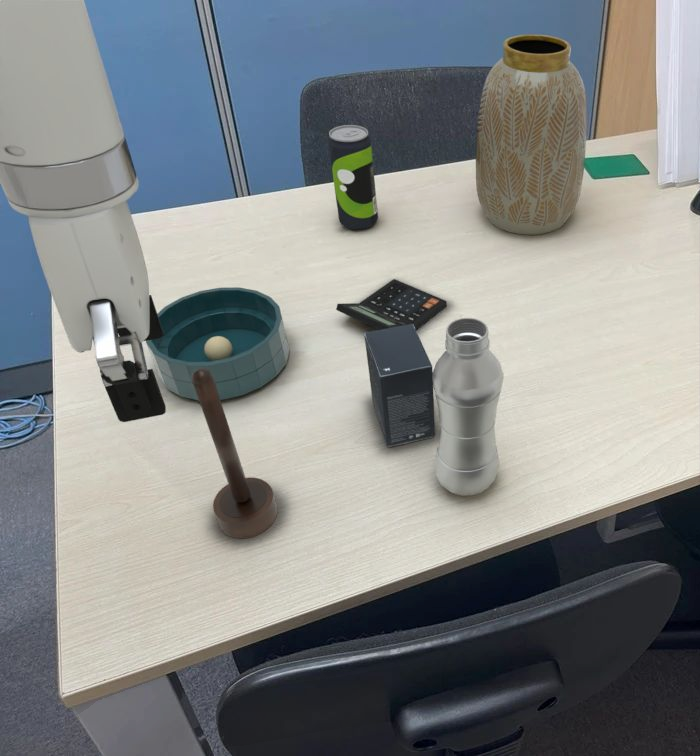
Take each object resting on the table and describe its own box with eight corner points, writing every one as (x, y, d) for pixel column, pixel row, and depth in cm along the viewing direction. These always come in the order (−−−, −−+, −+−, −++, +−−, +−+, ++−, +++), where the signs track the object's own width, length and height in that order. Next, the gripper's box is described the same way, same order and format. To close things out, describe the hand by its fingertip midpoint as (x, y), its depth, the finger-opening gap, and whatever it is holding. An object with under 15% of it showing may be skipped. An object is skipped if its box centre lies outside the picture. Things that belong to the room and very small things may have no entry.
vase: (582, 243, 111) (603, 66, 94) (473, 240, 111) (474, 61, 93) (574, 192, 124) (591, 28, 106) (476, 189, 124) (478, 24, 106)
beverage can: (361, 209, 117) (351, 120, 107) (386, 222, 114) (378, 132, 104) (331, 223, 114) (318, 132, 104) (356, 236, 111) (345, 144, 101)
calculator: (446, 306, 98) (446, 288, 96) (392, 349, 90) (390, 330, 88) (394, 283, 101) (392, 266, 99) (338, 323, 94) (335, 305, 92)
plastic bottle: (429, 464, 76) (420, 314, 63) (489, 451, 77) (493, 303, 64) (443, 510, 71) (437, 359, 58) (506, 496, 73) (515, 346, 60)
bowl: (162, 417, 80) (146, 377, 76) (159, 338, 90) (145, 300, 86) (298, 387, 84) (289, 348, 80) (280, 315, 95) (272, 278, 91)
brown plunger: (208, 532, 68) (148, 387, 56) (236, 488, 72) (187, 344, 60) (261, 543, 68) (213, 399, 55) (287, 499, 72) (248, 355, 59)
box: (436, 437, 79) (433, 365, 72) (386, 449, 77) (378, 377, 70) (418, 392, 84) (413, 321, 77) (371, 402, 83) (362, 331, 76)
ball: (203, 337, 87) (204, 363, 87) (203, 335, 84) (204, 362, 84) (231, 336, 88) (232, 362, 88) (232, 335, 85) (233, 361, 85)
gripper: (17, 124, 49) (95, 321, 60) (-23, 245, 37) (84, 463, 48) (133, 115, 52) (188, 307, 63) (131, 226, 40) (200, 439, 51)
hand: (143, 375), depth 56 cm, fingers open, 9 cm apart
